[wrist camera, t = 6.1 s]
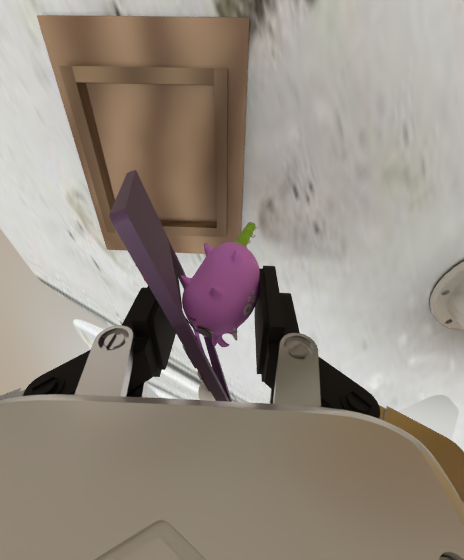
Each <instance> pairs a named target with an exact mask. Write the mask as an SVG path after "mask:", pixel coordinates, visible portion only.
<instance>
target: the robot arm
mask: <svg viewBox="0 0 464 560" xmlns="http://www.w3.org/2000/svg"><path fill="white" fill-rule="evenodd" d="M173 266H174V265H173ZM259 270H260V284H259V296H258V300H257V302H256V305H255V337H256V361H257V374H262V382H265V383H266V384H267V385H268V386H269V387H270V388H271V395H270V404H264V403H245V402H227V401H207V400H187V399H166V398H145V397H146V390H147V381H148V380H149V379H151V378H152V377H160V373H161V370H162V369H164V370H165V369H166V366H167V363H168V359H169V356H170V352H171V349H172V345H173V342H174V338H175V335H176V332H175V330H174V329H173V327H172V325H171V323H170V322H169V320H168V318H167V317H166V315H165V313H164V311H163V310H162V308H161V306H160V305H159V303H158V301H157V300H156V298H155V296H154V294H153V293H152V291H151V289H150V288H149V286H148V287H147V288H142V289H141V290H140V292H139V293H138V295H137V297H136V299H135V301H134V303H133V305H132V307H131V309H130V311H129V312H128V314H127V316H126V318H125V320H124V322H123V324H122V325H117V326H112V327H109V328H107V329H105V330H103V331H102V332H100V333H99V334H98V335H97V337H96V338H95V340H94V343H93V345H92V348H91V350H89V351H87V352H86V353H84V354H82V355H80V356H78V357H76V358H74V359H72V360H70V361H68V362H66V363H65V364H62V365H60V366H59V367H57V368H55V369H53V370H51V371H49V372H47V373H45V374H43V375H41V376H40V377H38V378H37V379H35V380H34V381H33V382H32V383H31V384H29V386H28V387H27V388H26V390H23V391H22V390H21V388H20V389H17V390H14V391H12V392H9V393H7V394H4V395H1V396H0V560H464V452H463V451H462V450H461V449H460V447H459V446H458V445H457V444H456V443H454V442H453V441H451V440H450V439H448V438H447V437H444V436H443V435H441V434H439V433H437V432H435V431H433V430H431V429H430V428H428V427H426V426H424V425H422V424H420V423H418V422H416V421H414V420H413V419H411V418H409V417H407V416H405V415H403V414H401V413H399V412H397V411H396V410H394V409H392V408H390V407H388V406H387V407H386V408H383V407H382V406H380V405H378V403H377V401H376V400H375V398H374V397H373V396H372V395H371V394H370V393H369V392H368V391H367V390H365V389H364V388H362V387H361V386H359V385H358V384H357V383H355V382H354V381H352V380H351V379H350V378H348V377H347V376H345V375H344V374H343V373H341V372H340V371H338V370H337V369H335V368H334V367H333V366H331V365H330V364H328V363H327V362H326V361H324V360H323V359H321V358H320V357H318V348H317V345H316V344H315V342H314V341H313V340H312V339H311V338H310V337H308V336H306V335H304V334H300V333H299V328H298V324H297V319H296V315H295V310H294V306H293V301H292V297H291V294H290V293H279V287H278V282H277V276H276V270H275V266H263V269H259ZM174 271H175V277H176V282H177V287H178V292H179V297H180V302H181V295H180V287H179V280H178V272H177V266H174ZM181 307H182V303H181ZM430 309H431V311H432V313H433V315H434V316H435V317H436V319H437V320H438V321H439V322H440V323H441V324H443V325H445V326H447V327H449V328H453V329H458V330H464V261H463V262H462V263H460V264H458V265H457V266H455V267H454V268H453V269H452V270H450V271H449V272H448V273H447V274H446V275H445V276H444V277H443V278H442V279H441V280H440V281H439V282H438V284H437V285H436V287H435V288H434V290H433V292H432V295H431V298H430Z"/></svg>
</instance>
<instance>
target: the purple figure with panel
mask: <svg viewBox="0 0 464 560" xmlns="http://www.w3.org/2000/svg"><path fill="white" fill-rule="evenodd" d="M109 216H110V220H111V222H112V224H113V226H114V228H115V230H116V231H117V233H118V235H119V236H120V238H121V240H122V242H123V243H124V245H125V247H126V248H127V250H128V252H129V253H130V255H131V257H132V259H133V260H134V262H135V264H136V266H137V267H138V269H139V271H140V272H141V274H142V276H143V278H144V280H145V281H146V282H147V284H148V286H149V288H150V289H151V291H152V293H153V294H154V296H155V298H156V300H157V301H158V303H159V305H160V306H161V308H162V310H163V311H164V313H165V315H166V317H167V318H168V320H169V322H170V323H171V325H172V327H173V329H174V330H175V332H176V334H177V335H178V337H179V339H180V340H181V342H182V344H183V348H184V350H185V352H186V354H187V355H188V357H189V359H190V361H191V362H192V364H193V366H194V367H195V368H197V370H198V376H199V378H200V380H202V383H201V385H200V387H199V399H200V400H207V401H227V402H232V400H231V397H230V394H229V391H228V387H227V384H226V381H225V378H224V375H223V371H222V368H221V365H220V362H219V359H218V355H217V352H216V349H215V346H216V344H217V343H218V344H219V345H220V346H221V347H227V346H229V344H227V343H226V342H225V341H224V340H223V339H222V335H223V334H225V333H229V334H232V335H233V337H234V338H235V340H237V328H238V327H239V326H240V325H241V324H242V323H243V322H244V321H245V320H246V319H247V318H248V317H249V316H250V314H251V313H252V311H253V309H254V307H255V305H256V302H257V300H258V296H259V284H260V270H259V266H258V263H257V261H256V259H255V257H254V256H253V254H252V253H251V252H250V251H249V250H248V249H247V248H246V246H247V244H248V243H249V242H251V241H249V238H250V237H252V238H254V237H255V235H253V231H254V230H256V228H257V227H256V226H255V224H254V223H252V222H250V223H248V224H247V226H246V227H245V228H244V229H243V231H242V233H241V234H240V235H239V237H238V238H237V240H236V242H235V243H234V242H226V243H223V244H220V245H219V246H217V247H215V248H211V247H210V245H209V244H208V243H205V244H204V250H205V254H206V258H205V260H204V261H203V263H202V264H201V266H200V267H199V269H198V270H197V272H196V273H195V275H194V276H193V277H192V278H191V279H190V278H188V277H186V275H185V273H184V271H183V269H182V266H181V264H180V262H179V260H178V258H177V256H176V254H175V252H174V249H173V247H172V245H171V243H170V241H169V239H168V237H167V235H166V232H165V230H164V228H163V226H162V224H161V222H160V220H159V218H158V215H157V213H156V211H155V209H154V207H153V205H152V203H151V201H150V198H149V196H148V194H147V192H146V190H145V188H144V186H143V184H142V181H141V179H140V177H139V175H138V173H137V171H136V170H133V171H131V172H128V173H127V174H126V176H125V179H124V181H123V183H122V186H121V188H120V190H119V193H118V195H117V197H116V200H115V202H114V204H113V207H112V209H111V211H110V214H109ZM173 265H174V266H177V272H178V277H179V279H180V282H181V284H182V286H183V288H184V293H183V297H182V304H183V309H184V312H185V314H186V316H187V318H188V320H189V321H190V322H189V321H188V320H187V319H186V318H185V316H184V314H183V311H182V307H181V302H180V297H179V292H178V287H177V282H176V277H175V271H174V266H173ZM187 321H188V322H187ZM189 324H190V325H191V326H192V327H193V329H194V332H195V335H194V333H193V331H192V329H191V327H190V325H189ZM199 334H202V335H203V336H204V339H205V342H206V346H207V350H208V353H209V357H210V360H211V364H212V367H211V365H210V363H209V361H208V359H207V357H206V355H205V353H204V350H203V347H202V344H201V341H200V338H199ZM195 336H196V337H195ZM212 368H213V369H212Z"/></svg>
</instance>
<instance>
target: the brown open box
mask: <svg viewBox="0 0 464 560" xmlns="http://www.w3.org/2000/svg"><path fill="white" fill-rule="evenodd" d="M37 18H38V21H39V25H40V28H41V31H42V35H43V38H44V41H45V45H46V48H47V51H48V55H49V58H50V61H51V65H52V68H53V71H54V75H55V78H56V81H57V85H58V88H59V91H60V95H61V98H62V101H63V104H64V108H65V111H66V114H67V118H68V121H69V124H70V128H71V131H72V134H73V138H74V141H75V144H76V148H77V151H78V154H79V158H80V161H81V164H82V168H83V171H84V174H85V178H86V181H87V184H88V188H89V191H90V194H91V198H92V201H93V204H94V208H95V211H96V214H97V218H98V221H99V224H100V228H101V231H102V234H103V238H104V241H105V244H106V247H107V249H109V250H127V248H126V247H125V245H124V243H123V242H122V240H121V238H120V236H119V235H118V233H117V231H116V230H115V228H114V226H113V224H112V222H111V220H110V216H109V214H110V211H111V209H112V207H113V204H114V202H115V200H116V197H117V195H118V193H119V190H120V188H121V186H122V183H123V181H124V179H125V176H126V174H127V173H128V172H131V171H133V170H136V171H137V173H138V175H139V177H140V179H141V181H142V184H143V186H144V188H145V190H146V192H147V194H148V196H149V198H150V201H151V203H152V205H153V207H154V209H155V211H156V213H157V215H158V218H159V220H160V222H161V224H162V226H163V228H164V230H165V232H166V235H167V237H168V239H169V241H170V243H171V245H172V247H173V249H174V252H177V253H199V254H205V250H204V244H205V243H208V244H209V245H210V247H211V248H215V247H217V246H219V245H220V244H223V243H226V242H234V243H235V242H236V240H237V238H238V237H239V235H240V234H241V219H242V195H243V170H244V145H245V120H246V95H247V70H248V46H249V17H144V16H38V15H37Z"/></svg>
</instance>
